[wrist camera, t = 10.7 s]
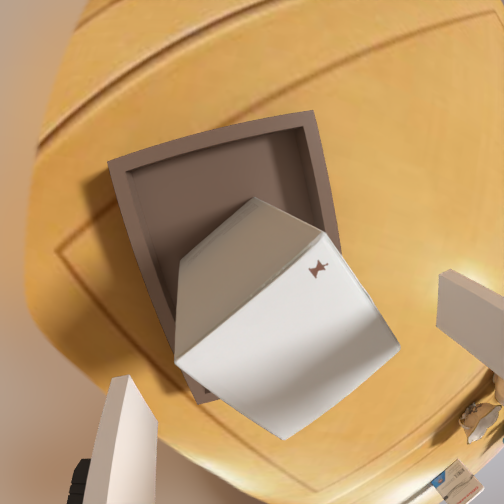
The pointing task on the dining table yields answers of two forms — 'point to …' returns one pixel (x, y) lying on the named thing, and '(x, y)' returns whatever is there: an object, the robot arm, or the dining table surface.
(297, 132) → the tray
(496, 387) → the chinaware
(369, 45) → the dining table surface
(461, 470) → the ink box
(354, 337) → the supplement box
